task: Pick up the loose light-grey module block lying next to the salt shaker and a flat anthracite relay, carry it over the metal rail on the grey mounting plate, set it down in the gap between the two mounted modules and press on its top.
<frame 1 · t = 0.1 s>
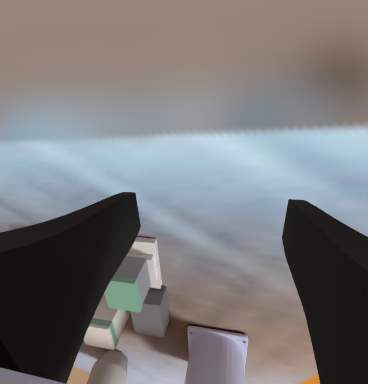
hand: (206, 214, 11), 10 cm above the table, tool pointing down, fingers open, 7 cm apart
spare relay: (154, 299, 30), on the table
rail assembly: (102, 256, 28), on the table
salt shaker: (117, 355, 38), on the table
module: (115, 302, 32), on the table
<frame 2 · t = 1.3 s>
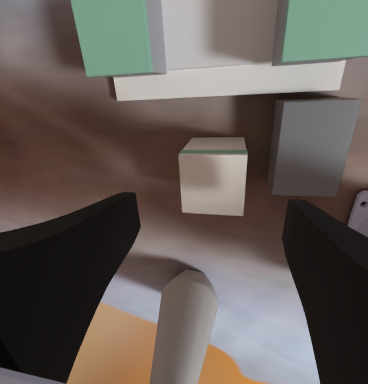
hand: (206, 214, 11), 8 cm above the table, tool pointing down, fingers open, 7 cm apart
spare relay: (299, 142, 16), on the table
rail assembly: (218, 37, 14), on the table
salt shaker: (193, 281, 25), on the table
module: (217, 161, 18), on the table
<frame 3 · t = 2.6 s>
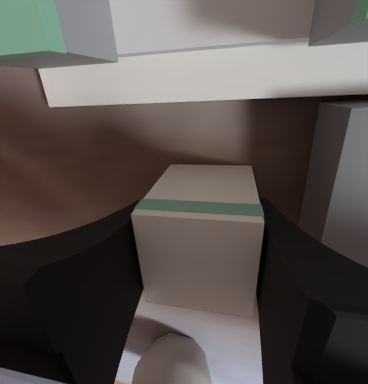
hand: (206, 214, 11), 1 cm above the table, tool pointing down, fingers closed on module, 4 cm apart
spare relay: (354, 170, 10), on the table
salt shaker: (179, 346, 18), on the table
module: (209, 200, 12), on the table, touching gripper
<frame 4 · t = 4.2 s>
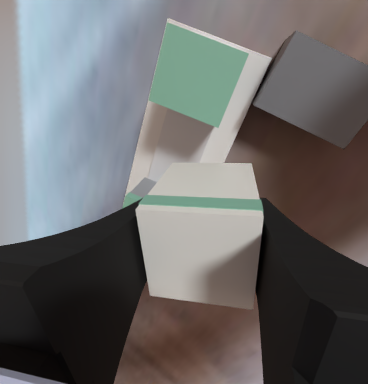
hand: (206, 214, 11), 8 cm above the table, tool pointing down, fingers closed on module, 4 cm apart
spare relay: (306, 92, 15), on the table
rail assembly: (183, 145, 18), on the table
module: (210, 198, 12), point 7 cm above the table, touching gripper
when the fingers open (4 cm above the table, at t = 5.7 s): module stays where it is, resting on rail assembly.
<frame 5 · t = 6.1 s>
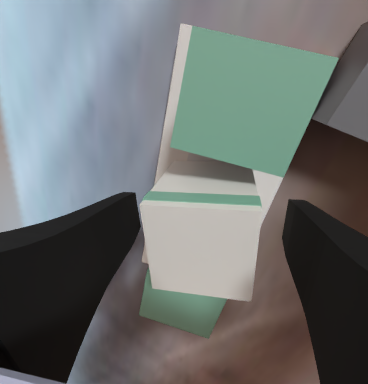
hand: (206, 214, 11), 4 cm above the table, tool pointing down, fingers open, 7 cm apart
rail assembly: (213, 183, 14), on the table
module: (210, 195, 12), point 2 cm above the table, touching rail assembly
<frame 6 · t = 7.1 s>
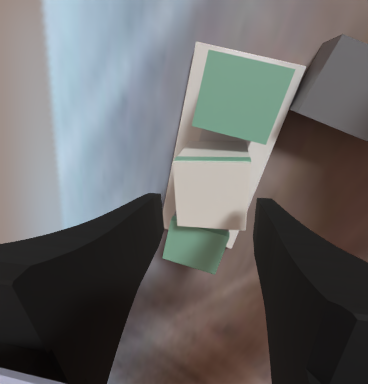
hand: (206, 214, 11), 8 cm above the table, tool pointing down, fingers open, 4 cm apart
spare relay: (344, 95, 15), on the table
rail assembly: (217, 161, 18), on the table
module: (216, 167, 17), point 2 cm above the table, touching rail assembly
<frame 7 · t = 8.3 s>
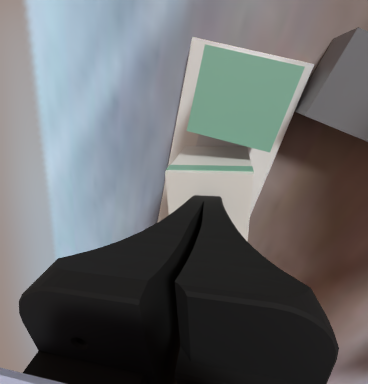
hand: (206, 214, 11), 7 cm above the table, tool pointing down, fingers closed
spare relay: (356, 96, 13), on the table
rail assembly: (216, 167, 17), on the table
module: (215, 175, 15), point 2 cm above the table, touching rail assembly
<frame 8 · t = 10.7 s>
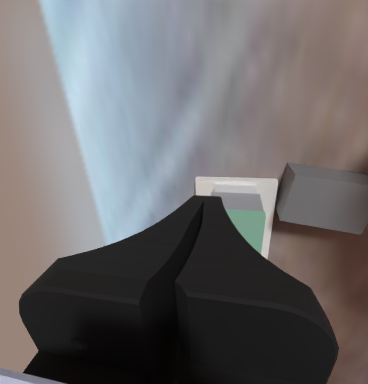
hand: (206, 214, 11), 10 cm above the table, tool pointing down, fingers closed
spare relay: (316, 189, 19), on the table
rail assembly: (231, 244, 23), on the table
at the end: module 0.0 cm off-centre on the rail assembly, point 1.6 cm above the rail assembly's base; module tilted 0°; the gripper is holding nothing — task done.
